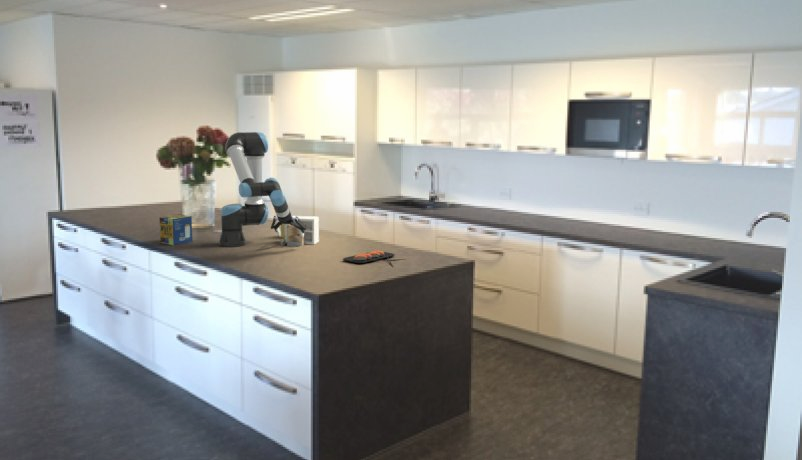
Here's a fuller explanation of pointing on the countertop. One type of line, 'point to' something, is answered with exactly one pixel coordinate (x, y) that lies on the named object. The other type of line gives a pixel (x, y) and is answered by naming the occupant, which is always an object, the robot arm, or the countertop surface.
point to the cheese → (283, 231)
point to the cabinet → (306, 231)
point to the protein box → (176, 229)
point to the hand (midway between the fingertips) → (291, 235)
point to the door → (294, 234)
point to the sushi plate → (371, 257)
